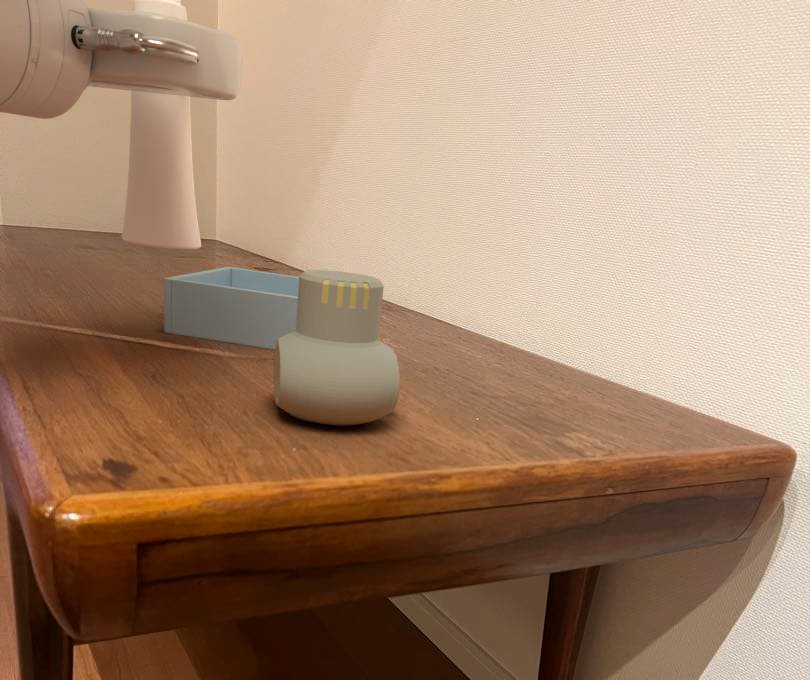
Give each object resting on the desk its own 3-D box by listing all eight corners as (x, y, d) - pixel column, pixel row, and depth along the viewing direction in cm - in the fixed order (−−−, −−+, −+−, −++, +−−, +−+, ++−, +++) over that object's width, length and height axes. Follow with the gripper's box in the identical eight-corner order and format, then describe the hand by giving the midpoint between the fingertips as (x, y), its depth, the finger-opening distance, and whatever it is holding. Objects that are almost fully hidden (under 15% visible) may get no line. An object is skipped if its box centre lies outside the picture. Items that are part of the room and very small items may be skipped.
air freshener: (399, 441, 54) (417, 293, 50) (279, 436, 52) (287, 280, 48) (373, 399, 64) (386, 272, 60) (271, 393, 62) (277, 261, 58)
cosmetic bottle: (133, 246, 58) (125, -125, 49) (113, 236, 62) (102, -105, 53) (212, 251, 61) (218, -95, 52) (187, 242, 66) (189, -79, 57)
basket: (164, 337, 76) (163, 278, 74) (226, 317, 90) (227, 266, 88) (317, 361, 74) (321, 301, 72) (356, 337, 88) (361, 285, 86)
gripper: (156, -28, 41) (293, 30, 53) (-112, -39, 48) (63, 15, 60) (157, 107, 44) (288, 134, 56) (-97, 79, 50) (68, 108, 62)
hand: (170, 72), depth 58 cm, fingers closed on cosmetic bottle, 4 cm apart
